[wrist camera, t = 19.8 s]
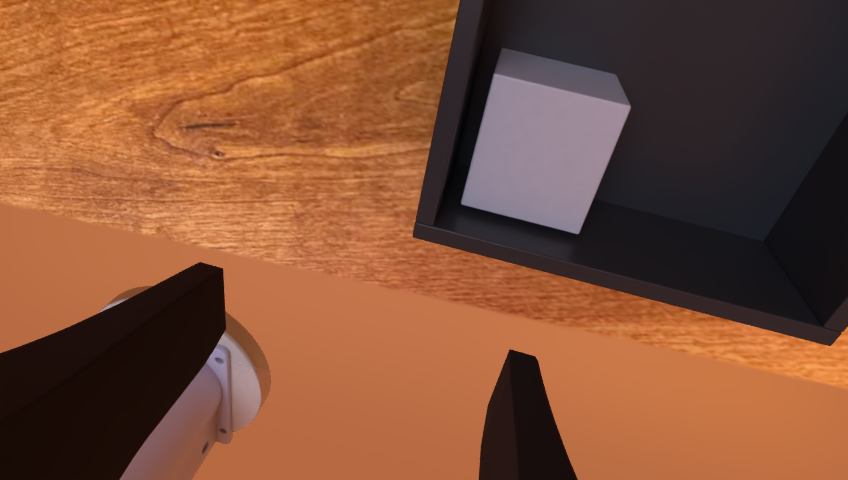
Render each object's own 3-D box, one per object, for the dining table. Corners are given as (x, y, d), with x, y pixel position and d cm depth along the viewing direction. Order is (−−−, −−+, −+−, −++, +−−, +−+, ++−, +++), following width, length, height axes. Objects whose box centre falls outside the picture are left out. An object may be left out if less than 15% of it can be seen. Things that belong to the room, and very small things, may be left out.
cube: (573, 187, 20) (578, 235, 17) (472, 162, 20) (460, 205, 17) (616, 74, 18) (632, 106, 15) (501, 46, 18) (493, 73, 15)
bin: (765, 250, 20) (831, 347, 16) (439, 168, 21) (411, 237, 17) (1044, -170, 13) (1312, -216, 9) (535, -270, 14) (532, -361, 9)
